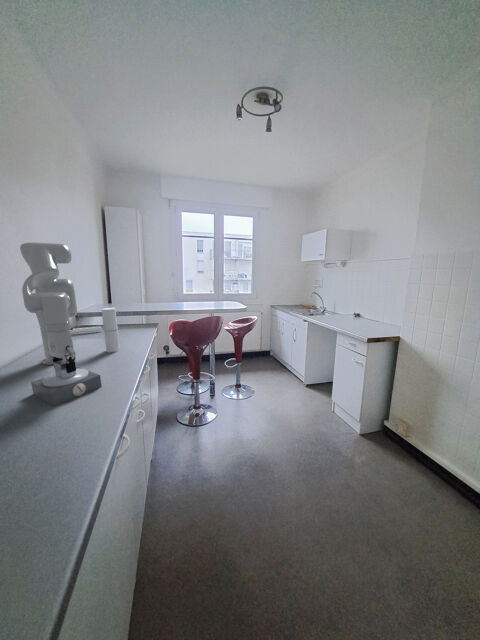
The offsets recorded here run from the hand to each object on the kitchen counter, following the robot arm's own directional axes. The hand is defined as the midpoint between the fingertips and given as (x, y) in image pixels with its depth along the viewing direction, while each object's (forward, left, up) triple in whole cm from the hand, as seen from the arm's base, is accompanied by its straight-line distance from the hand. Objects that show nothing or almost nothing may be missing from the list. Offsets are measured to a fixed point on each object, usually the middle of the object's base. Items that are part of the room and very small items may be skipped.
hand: (65, 369), depth 98 cm
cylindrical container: (-31, +39, -9) cm, 51 cm away
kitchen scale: (0, 0, -9) cm, 9 cm away
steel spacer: (0, 0, -3) cm, 3 cm away
